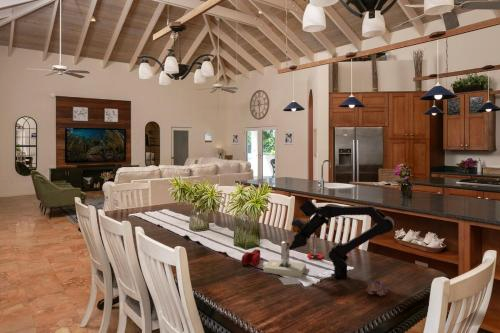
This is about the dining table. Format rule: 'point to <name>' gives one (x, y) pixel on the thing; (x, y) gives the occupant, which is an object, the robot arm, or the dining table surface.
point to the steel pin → (285, 254)
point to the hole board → (285, 268)
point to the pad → (289, 280)
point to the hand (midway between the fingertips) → (290, 246)
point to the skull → (376, 288)
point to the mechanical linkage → (251, 258)
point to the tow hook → (315, 252)
